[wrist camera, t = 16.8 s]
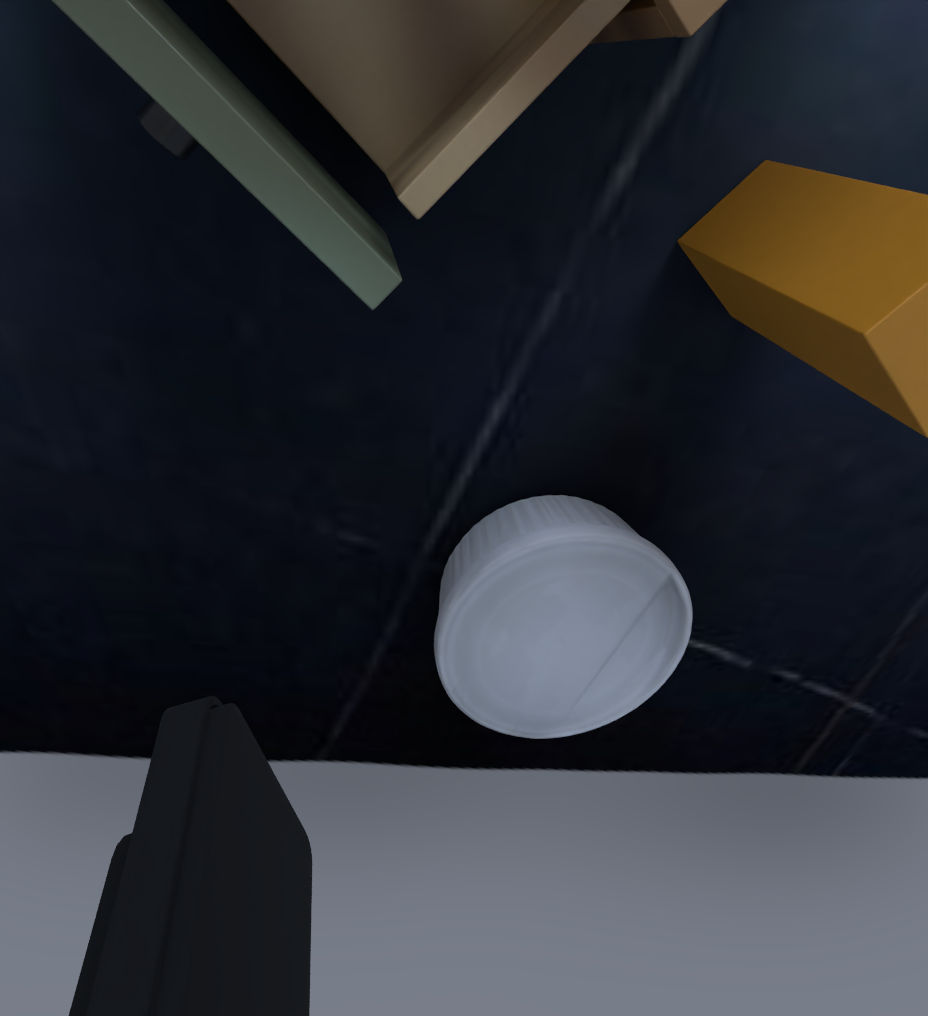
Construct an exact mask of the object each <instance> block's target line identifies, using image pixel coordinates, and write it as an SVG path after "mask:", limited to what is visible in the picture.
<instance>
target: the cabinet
mask: <svg viewBox="0 0 928 1016" xmlns="http://www.w3.org/2000/svg"><path fill="white" fill-rule="evenodd" d="M726 1H727V0H631V1H630V2H629V3H628V4H627V5H626V6H625V7H624V8H623V9H622V10H621V11H620V12H619V13H618V14H617V15H616V16H615V17H614V18H613V19H612V20H611V21H610V22H609V23H608V24H607V26H606V27H605V28H604V29H603V30H602V31H601V32H600V33H599V34H598V35H597V36H596V37H595V38H594V39H593V40H592V41H591V42H590V43H589V44H592V43H593V44H594V43H607V42H619V41H631V40H644V39H656V38H668V37H690V36H692V35H693V34H694V33H695V32H696V31H697V30H698V29H699V28H700V27H701V26H702V25H703V24H704V23H705V22H706V21H707V20H708V19H709V18H710V17H711V16H712V15H713V14H714V13H715V12H716V11H717V10H718V9H719V8H720V7H721V6H722V5H723V4H724V3H725V2H726Z"/></svg>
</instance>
